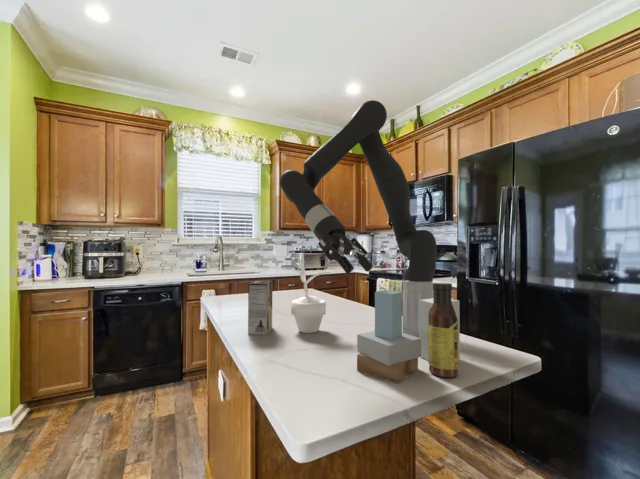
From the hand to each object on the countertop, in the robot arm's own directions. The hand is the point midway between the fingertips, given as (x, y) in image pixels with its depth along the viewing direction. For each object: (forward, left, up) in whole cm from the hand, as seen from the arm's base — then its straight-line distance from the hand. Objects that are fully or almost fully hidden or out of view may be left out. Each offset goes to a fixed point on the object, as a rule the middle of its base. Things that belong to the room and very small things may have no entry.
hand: (360, 270), depth 76 cm
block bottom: (-3, +6, -23) cm, 24 cm away
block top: (-3, +7, -19) cm, 20 cm away
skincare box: (-19, +6, -22) cm, 30 cm away
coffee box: (+16, -37, -22) cm, 46 cm away
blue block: (-3, +7, -15) cm, 16 cm away
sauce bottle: (-13, +13, -22) cm, 29 cm away
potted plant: (+1, -30, -22) cm, 37 cm away
